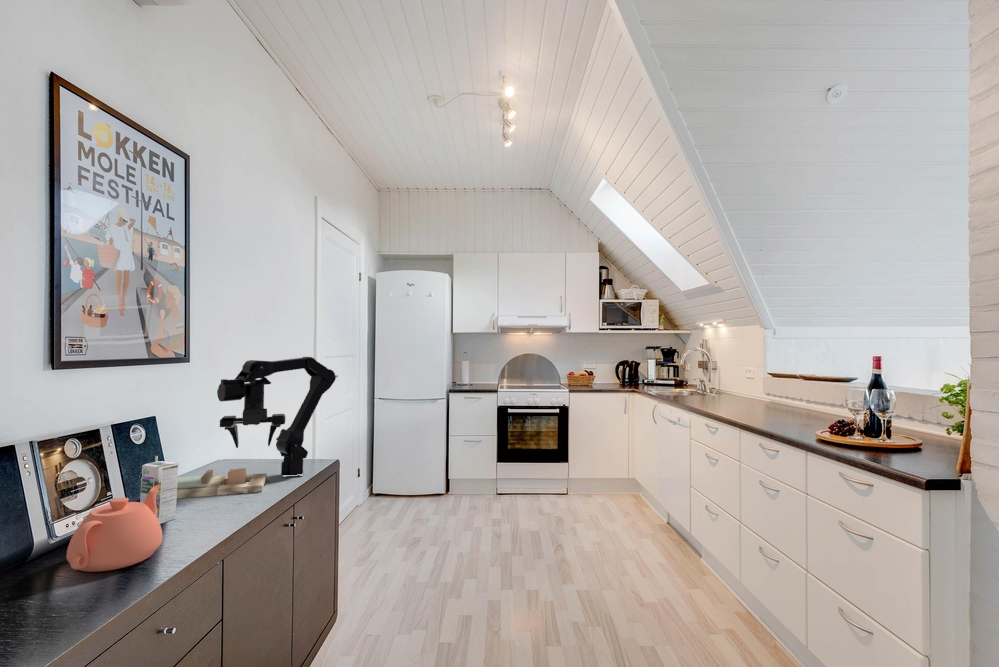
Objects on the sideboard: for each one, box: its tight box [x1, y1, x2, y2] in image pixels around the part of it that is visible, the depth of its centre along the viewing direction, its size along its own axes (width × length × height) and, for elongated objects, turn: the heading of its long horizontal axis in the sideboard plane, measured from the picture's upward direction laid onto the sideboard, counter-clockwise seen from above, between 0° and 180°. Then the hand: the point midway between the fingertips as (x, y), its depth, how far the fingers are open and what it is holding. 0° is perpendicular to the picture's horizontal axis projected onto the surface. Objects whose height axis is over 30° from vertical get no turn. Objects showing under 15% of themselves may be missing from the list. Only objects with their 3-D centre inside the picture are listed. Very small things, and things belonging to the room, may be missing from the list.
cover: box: [177, 469, 214, 488], centre depth 149 cm, size 11×11×3 cm
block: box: [227, 467, 247, 485], centre depth 153 cm, size 4×4×5 cm
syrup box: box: [139, 460, 179, 525], centre depth 123 cm, size 6×6×14 cm
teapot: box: [66, 485, 163, 573], centre depth 102 cm, size 22×16×12 cm
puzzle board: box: [177, 472, 268, 499], centre depth 152 cm, size 24×15×2 cm, turn 111°
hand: (253, 446), depth 158 cm, fingers open, 9 cm apart
